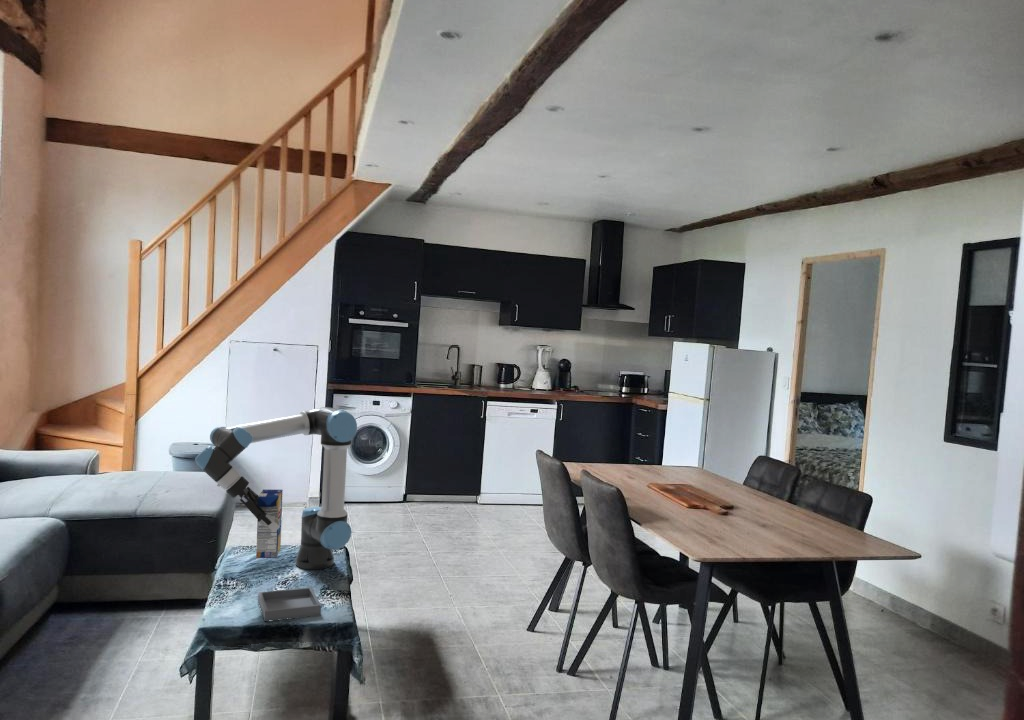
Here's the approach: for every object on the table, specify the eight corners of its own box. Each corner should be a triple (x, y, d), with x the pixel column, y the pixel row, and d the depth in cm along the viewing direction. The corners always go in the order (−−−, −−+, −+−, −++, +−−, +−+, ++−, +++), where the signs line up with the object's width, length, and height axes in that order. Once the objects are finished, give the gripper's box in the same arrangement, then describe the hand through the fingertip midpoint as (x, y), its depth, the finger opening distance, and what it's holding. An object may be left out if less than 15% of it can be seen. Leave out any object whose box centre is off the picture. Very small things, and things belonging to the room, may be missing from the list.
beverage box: (256, 558, 256) (258, 496, 255) (261, 548, 267) (263, 489, 266) (276, 558, 258) (278, 496, 257) (280, 548, 268) (282, 489, 267)
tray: (310, 596, 261) (311, 587, 261) (320, 615, 245) (321, 605, 245) (258, 602, 254) (258, 592, 253) (264, 622, 237) (265, 611, 237)
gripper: (228, 483, 268) (271, 523, 273) (221, 498, 246) (268, 542, 251) (244, 468, 270) (286, 509, 275) (238, 482, 247) (284, 526, 252)
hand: (277, 525), depth 263 cm, fingers closed on beverage box, 11 cm apart
